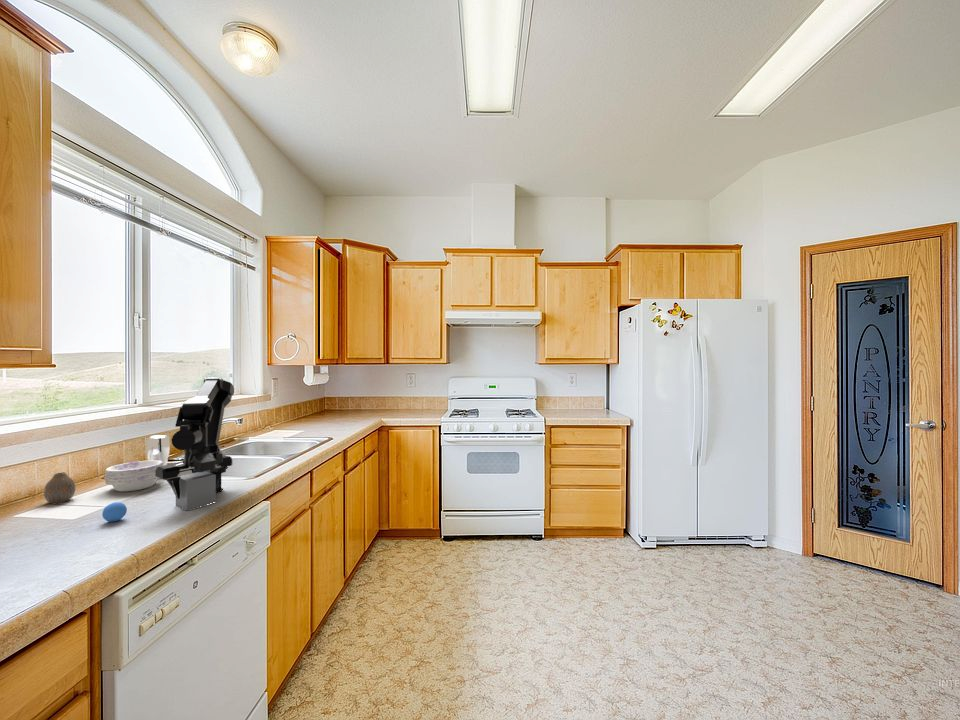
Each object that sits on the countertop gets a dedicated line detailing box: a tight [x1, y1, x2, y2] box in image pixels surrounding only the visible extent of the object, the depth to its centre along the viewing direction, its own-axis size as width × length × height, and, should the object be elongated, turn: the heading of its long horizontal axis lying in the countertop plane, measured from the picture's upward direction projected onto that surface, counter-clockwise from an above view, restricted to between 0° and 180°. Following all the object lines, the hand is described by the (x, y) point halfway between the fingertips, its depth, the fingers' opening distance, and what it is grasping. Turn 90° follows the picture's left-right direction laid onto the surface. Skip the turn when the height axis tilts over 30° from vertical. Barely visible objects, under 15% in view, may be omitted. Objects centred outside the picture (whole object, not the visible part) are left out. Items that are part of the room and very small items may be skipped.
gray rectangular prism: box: [175, 471, 217, 511], centre depth 125 cm, size 8×8×9 cm
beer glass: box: [146, 434, 171, 466], centre depth 155 cm, size 7×7×15 cm
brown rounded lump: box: [43, 472, 76, 504], centre depth 127 cm, size 7×7×9 cm
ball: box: [101, 501, 128, 523], centre depth 112 cm, size 5×5×5 cm
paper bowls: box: [104, 460, 163, 492], centre depth 141 cm, size 15×15×8 cm
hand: (195, 494), depth 125 cm, fingers open, 9 cm apart
